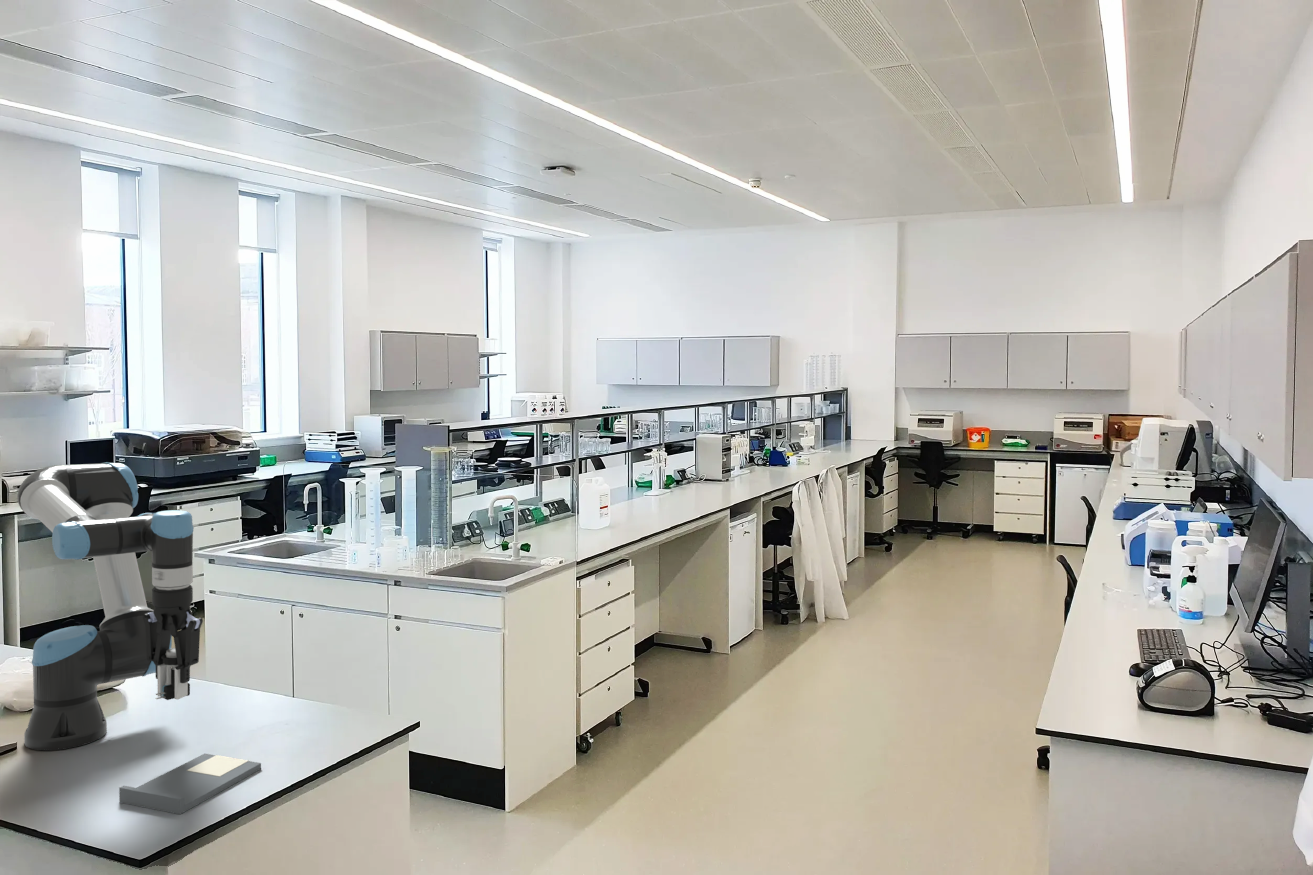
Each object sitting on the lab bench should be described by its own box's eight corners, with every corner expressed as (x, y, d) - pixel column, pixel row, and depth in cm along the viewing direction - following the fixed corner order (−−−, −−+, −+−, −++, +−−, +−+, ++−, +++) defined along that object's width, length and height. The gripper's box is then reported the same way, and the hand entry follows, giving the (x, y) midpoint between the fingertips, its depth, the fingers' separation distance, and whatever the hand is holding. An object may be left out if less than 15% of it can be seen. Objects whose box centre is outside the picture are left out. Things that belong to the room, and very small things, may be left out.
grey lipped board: (119, 802, 172) (119, 787, 172) (204, 758, 192) (204, 745, 192) (180, 814, 168) (180, 799, 168) (260, 768, 188) (260, 755, 188)
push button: (161, 704, 190) (161, 656, 189) (150, 697, 194) (150, 651, 193) (194, 696, 195) (194, 650, 195) (183, 690, 199) (183, 644, 198)
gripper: (125, 585, 191) (125, 696, 193) (191, 593, 187) (191, 707, 188) (154, 577, 199) (155, 684, 200) (219, 585, 194) (218, 695, 195)
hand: (172, 695), depth 194 cm, fingers closed on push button, 4 cm apart
